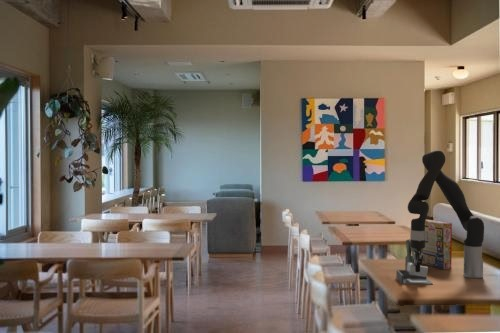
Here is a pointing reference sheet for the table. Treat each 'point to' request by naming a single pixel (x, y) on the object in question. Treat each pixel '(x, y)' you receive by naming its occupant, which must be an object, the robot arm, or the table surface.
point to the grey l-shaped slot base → (411, 278)
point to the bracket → (408, 254)
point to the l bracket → (412, 270)
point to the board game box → (437, 244)
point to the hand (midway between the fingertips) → (417, 271)
